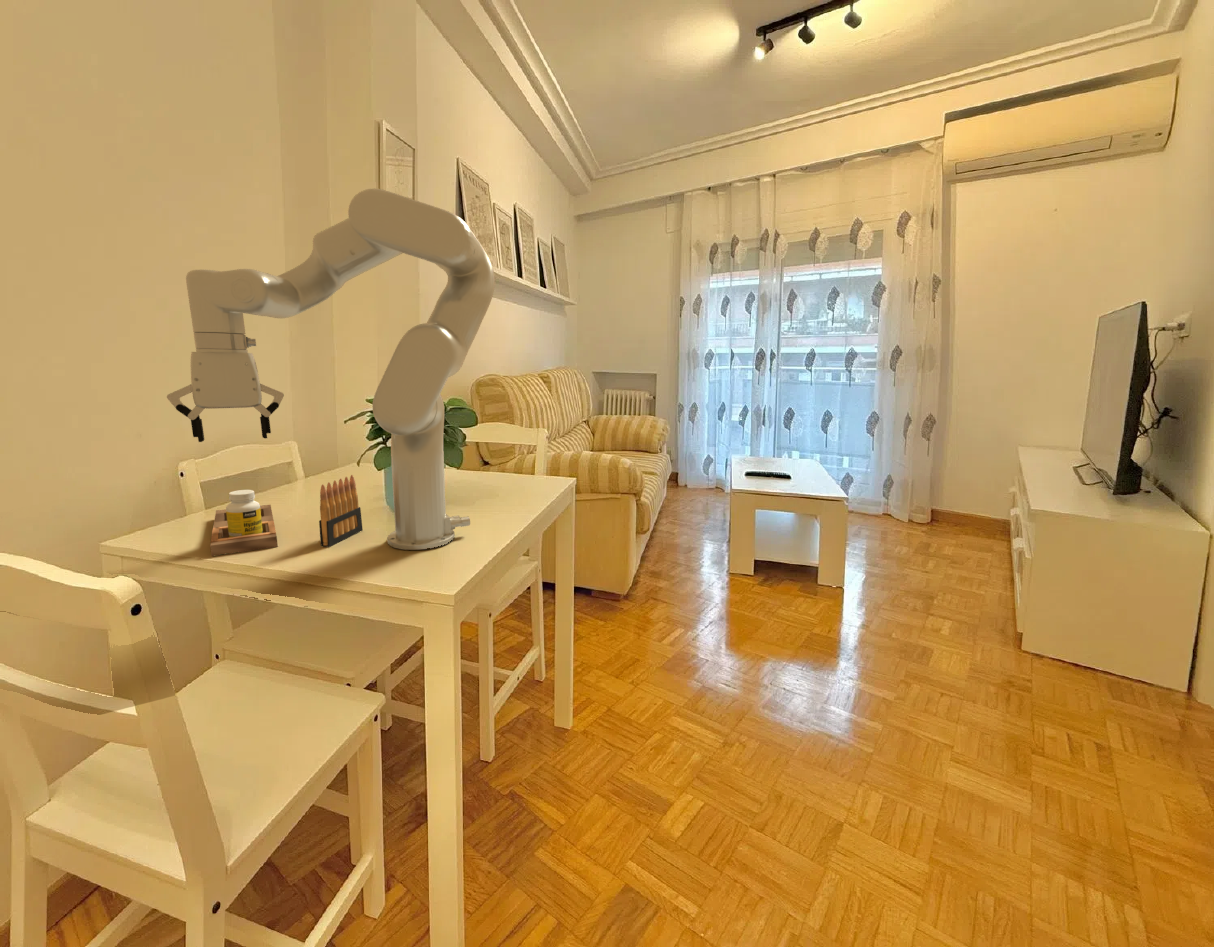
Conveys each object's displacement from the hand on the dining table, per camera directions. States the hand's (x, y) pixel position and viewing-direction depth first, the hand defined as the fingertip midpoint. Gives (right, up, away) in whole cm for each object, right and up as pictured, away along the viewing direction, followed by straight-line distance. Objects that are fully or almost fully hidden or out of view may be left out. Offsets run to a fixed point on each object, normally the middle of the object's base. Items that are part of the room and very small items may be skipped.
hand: (234, 439), depth 97 cm
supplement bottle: (0, -20, +4) cm, 20 cm away
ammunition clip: (+16, -19, +7) cm, 27 cm away
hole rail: (-4, -18, +9) cm, 21 cm away
